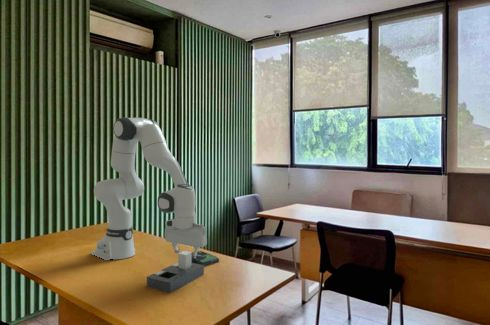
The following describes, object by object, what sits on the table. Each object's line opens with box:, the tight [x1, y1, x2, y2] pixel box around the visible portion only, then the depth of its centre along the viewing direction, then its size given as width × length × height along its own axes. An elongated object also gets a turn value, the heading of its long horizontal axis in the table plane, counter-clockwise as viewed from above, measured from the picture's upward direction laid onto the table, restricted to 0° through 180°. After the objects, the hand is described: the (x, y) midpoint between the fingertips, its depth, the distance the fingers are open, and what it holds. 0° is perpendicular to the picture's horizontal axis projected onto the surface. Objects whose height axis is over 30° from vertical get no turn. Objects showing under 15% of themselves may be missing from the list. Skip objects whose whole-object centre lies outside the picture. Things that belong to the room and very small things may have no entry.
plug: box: [177, 250, 193, 270], centre depth 148 cm, size 4×5×10 cm
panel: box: [146, 262, 205, 294], centre depth 143 cm, size 12×22×4 cm, turn 152°
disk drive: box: [192, 250, 220, 267], centre depth 167 cm, size 10×3×15 cm
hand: (185, 254), depth 147 cm, fingers open, 8 cm apart
